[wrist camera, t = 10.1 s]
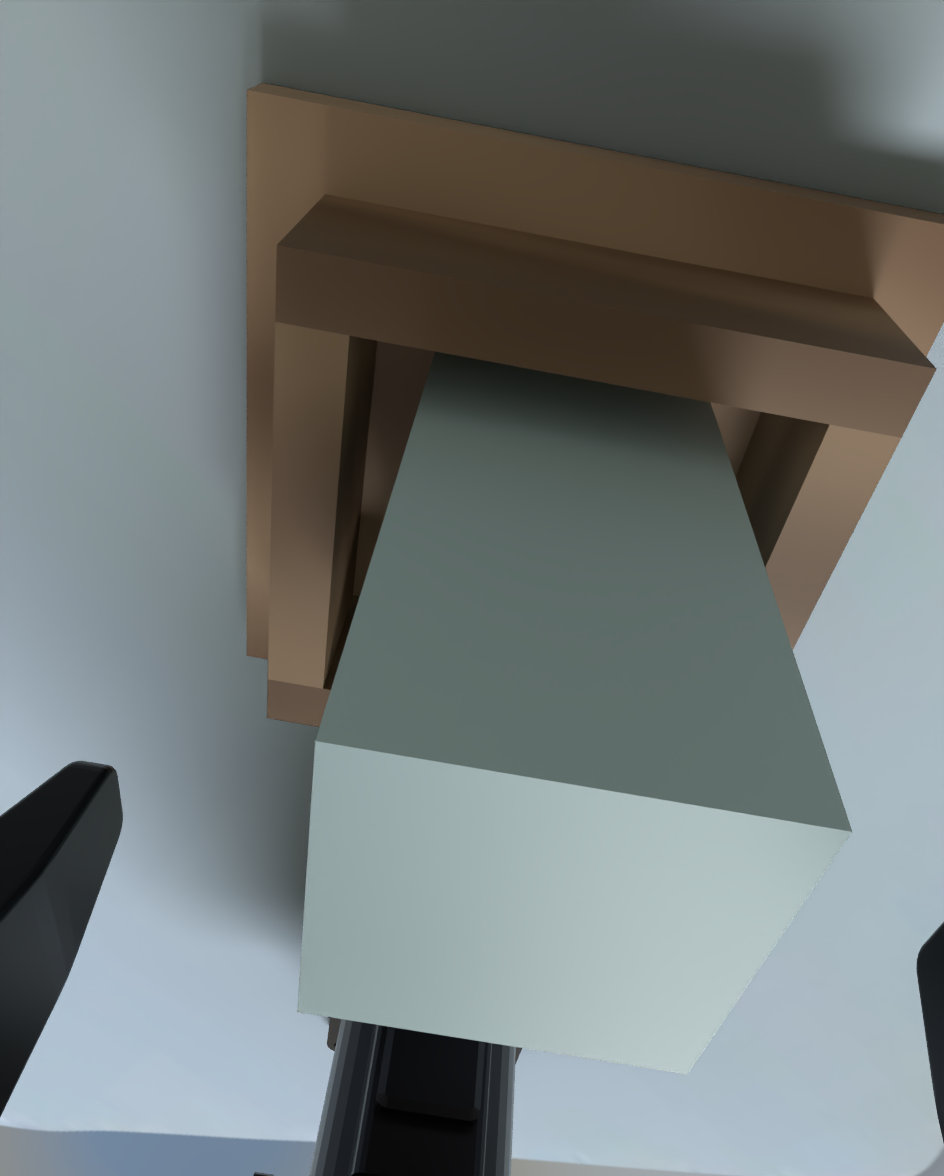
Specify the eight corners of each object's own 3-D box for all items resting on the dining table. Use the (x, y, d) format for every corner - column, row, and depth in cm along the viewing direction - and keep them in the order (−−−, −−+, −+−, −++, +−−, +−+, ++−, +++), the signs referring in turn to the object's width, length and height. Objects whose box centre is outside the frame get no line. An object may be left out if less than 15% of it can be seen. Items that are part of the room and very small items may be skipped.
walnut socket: (729, 714, 20) (757, 844, 17) (256, 632, 20) (204, 750, 17) (967, 219, 13) (1080, 294, 10) (261, 82, 13) (177, 121, 10)
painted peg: (634, 604, 17) (687, 1074, 10) (408, 564, 17) (297, 1012, 10) (707, 392, 14) (851, 831, 7) (437, 343, 14) (314, 741, 7)
